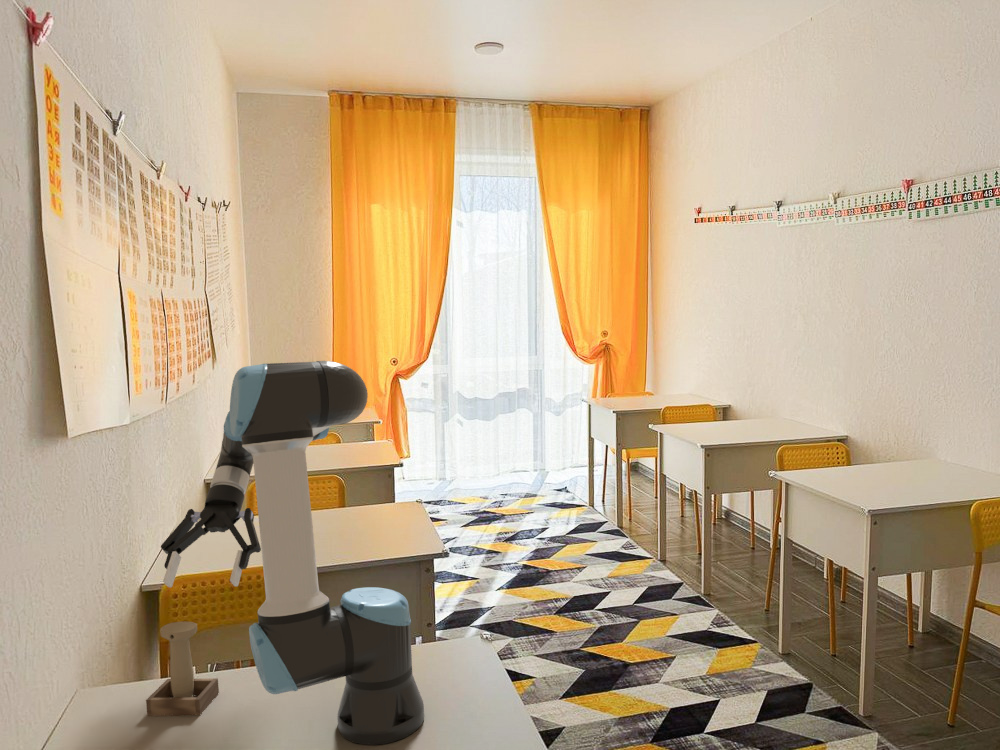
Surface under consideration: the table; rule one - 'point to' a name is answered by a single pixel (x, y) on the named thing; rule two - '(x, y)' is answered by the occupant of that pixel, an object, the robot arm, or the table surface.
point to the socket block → (182, 699)
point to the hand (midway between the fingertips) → (200, 584)
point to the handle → (180, 657)
